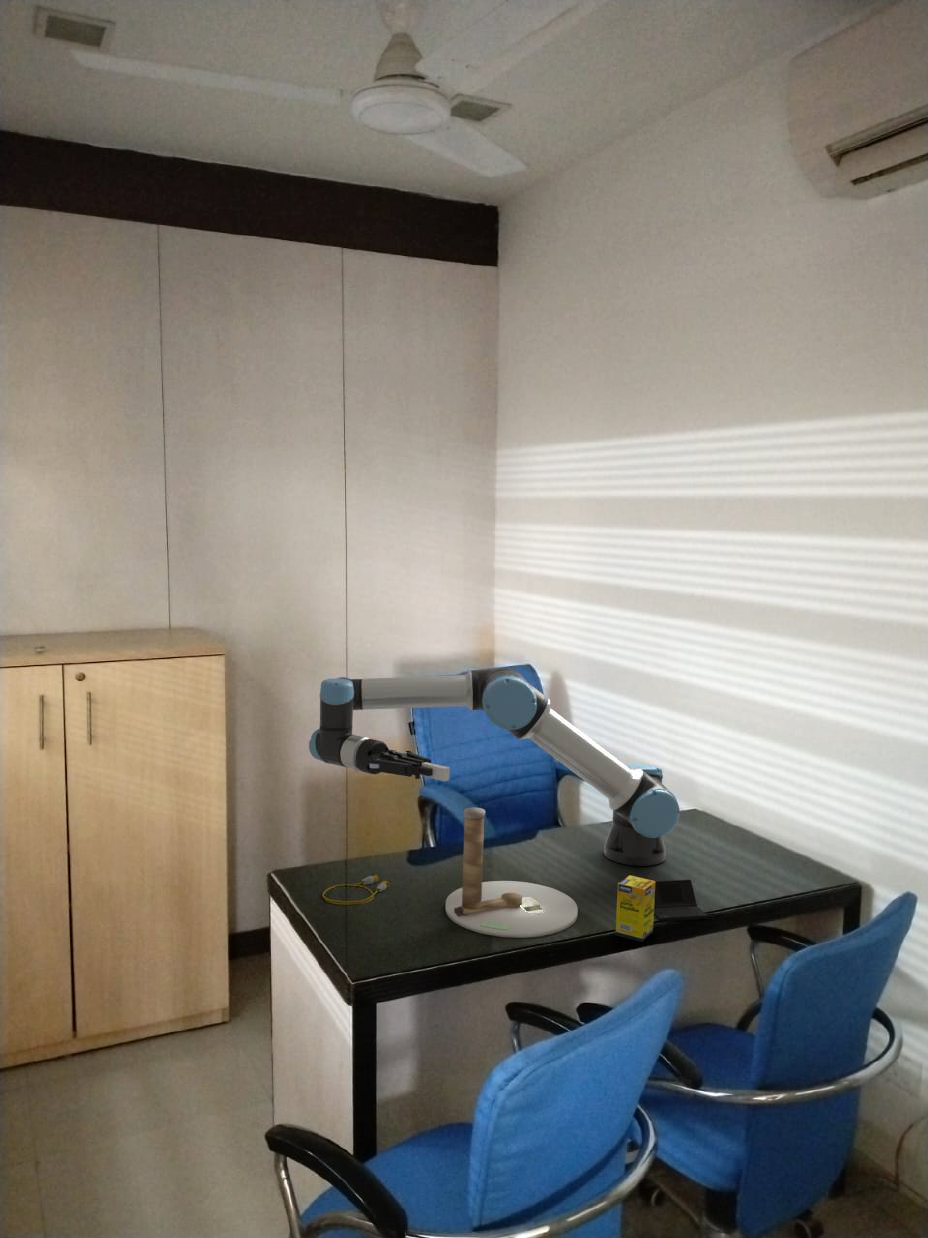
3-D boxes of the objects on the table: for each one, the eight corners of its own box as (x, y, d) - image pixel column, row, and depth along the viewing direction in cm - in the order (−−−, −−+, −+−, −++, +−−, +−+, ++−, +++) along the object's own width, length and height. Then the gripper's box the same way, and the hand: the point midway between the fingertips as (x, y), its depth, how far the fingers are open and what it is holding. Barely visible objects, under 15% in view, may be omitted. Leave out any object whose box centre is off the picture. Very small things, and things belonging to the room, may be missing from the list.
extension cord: (400, 900, 218) (400, 891, 218) (330, 910, 211) (331, 901, 211) (380, 881, 229) (380, 872, 228) (313, 890, 222) (314, 882, 222)
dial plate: (574, 889, 226) (574, 883, 226) (580, 941, 198) (581, 934, 198) (450, 883, 227) (450, 877, 227) (439, 933, 200) (439, 927, 199)
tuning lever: (514, 897, 215) (517, 800, 213) (525, 904, 212) (529, 806, 210) (450, 911, 207) (453, 810, 205) (461, 918, 203) (464, 816, 201)
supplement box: (642, 943, 198) (645, 889, 197) (614, 935, 201) (617, 883, 200) (653, 933, 203) (656, 880, 202) (626, 926, 206) (628, 874, 205)
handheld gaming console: (666, 918, 207) (657, 871, 212) (648, 928, 212) (639, 882, 218) (712, 920, 211) (702, 873, 216) (693, 929, 217) (684, 884, 222)
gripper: (385, 766, 229) (466, 786, 215) (344, 776, 219) (426, 798, 204) (386, 734, 228) (467, 751, 214) (345, 743, 218) (427, 762, 204)
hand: (447, 774), depth 209 cm, fingers closed
